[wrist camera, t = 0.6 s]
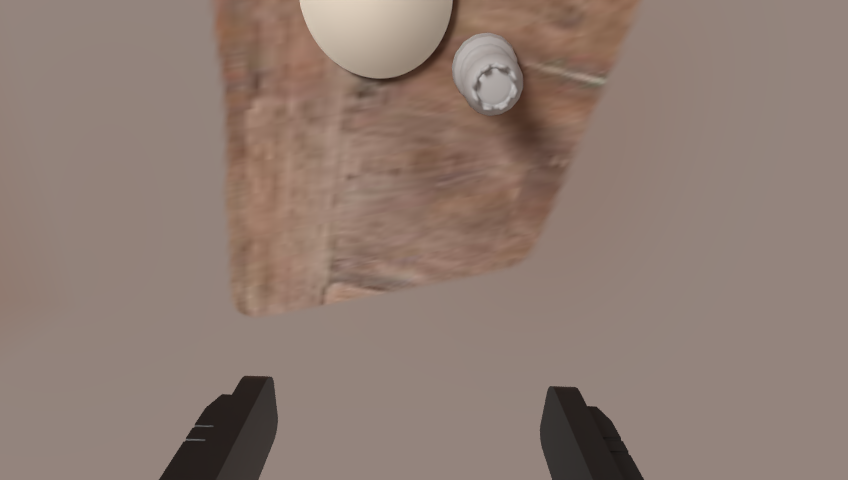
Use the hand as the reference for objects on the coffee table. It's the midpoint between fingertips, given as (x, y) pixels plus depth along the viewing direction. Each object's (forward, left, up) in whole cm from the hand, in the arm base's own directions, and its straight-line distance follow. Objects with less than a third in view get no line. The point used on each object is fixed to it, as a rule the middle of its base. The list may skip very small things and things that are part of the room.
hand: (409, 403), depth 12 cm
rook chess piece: (-5, +5, -23) cm, 24 cm away
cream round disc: (-11, -1, -23) cm, 26 cm away
